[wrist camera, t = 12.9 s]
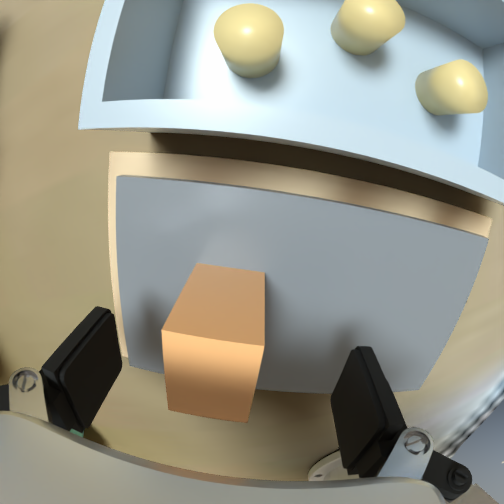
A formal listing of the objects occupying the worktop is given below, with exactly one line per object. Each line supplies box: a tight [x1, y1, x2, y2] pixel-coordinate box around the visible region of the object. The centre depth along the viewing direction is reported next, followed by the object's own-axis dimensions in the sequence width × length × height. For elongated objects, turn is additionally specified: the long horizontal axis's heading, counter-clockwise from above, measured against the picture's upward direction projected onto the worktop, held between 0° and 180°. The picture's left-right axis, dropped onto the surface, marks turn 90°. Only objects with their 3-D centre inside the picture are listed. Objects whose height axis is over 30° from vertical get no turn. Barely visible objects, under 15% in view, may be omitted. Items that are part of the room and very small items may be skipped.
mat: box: [108, 151, 493, 357], centre depth 15 cm, size 22×13×1 cm, turn 83°
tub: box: [78, 0, 504, 206], centre depth 8 cm, size 18×10×6 cm, turn 83°
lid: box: [116, 175, 489, 423], centre depth 12 cm, size 19×11×7 cm, turn 82°
